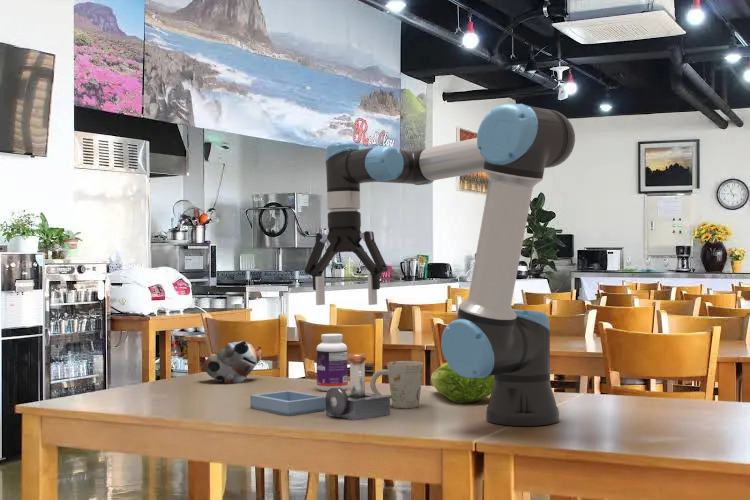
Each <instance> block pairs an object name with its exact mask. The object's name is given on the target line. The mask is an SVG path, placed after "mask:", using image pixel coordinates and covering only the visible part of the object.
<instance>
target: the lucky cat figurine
mask: <svg viewBox="0 0 750 500" xmlns="http://www.w3.org/2000/svg"><path fill="white" fill-rule="evenodd" d="M262 355H263V354H262V346H256V347H254V346H253V345H252V344H251V343H249V342H247V341H244V340H240V341H234V342H227V344H226V345H225V346H224V348H222V349H221V350H220V352H219V353H217V354H216V355H210V356H209V357H207V358H206V359H205V360H204V362H203V363H202V365H200V368H201V370H203V371H204V372H205V373H206V374H207V375H208V376H209V377H210V378H213V379H214V380H216V381H221V383H222V384H225V385H233V384H241V383H243V382H244V381H245V380H246V379H247V377H248V376H249V374H250V373H251V372H252V371H253V370H254V368H255V367H256V366H257V365H258V364H259V362H260V361H261V360H262Z"/></svg>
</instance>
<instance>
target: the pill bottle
mask: <svg viewBox="0 0 750 500" xmlns="http://www.w3.org/2000/svg"><path fill="white" fill-rule="evenodd" d="M320 339H321V341H322V342H320V343H319V344H318V345H317V346H316V348H315V349H316V352H315V353H316V388H317V390H319V391H322V392H328V390H329V389H331V388H336V387H341V388H342V389H344V390H345V391H346V389H348V386H349V385H348V381H349V380H348V378H349V377H348V346H347V344H345V343H344V342H343V334H342V333H324V334H323V333H322V334H321V336H320Z"/></svg>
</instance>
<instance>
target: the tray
mask: <svg viewBox="0 0 750 500" xmlns="http://www.w3.org/2000/svg"><path fill="white" fill-rule="evenodd" d="M249 397H250V398H249V399H250V404H249V405H250V407H249V408H250V409H253V410H257V411H262V412H267V413H272V414H276V415H283V416H286V417H287V416H288V417H290V416H291V417H292V416H296V415H303V414H304V415H305V414H310V413H317V412H325V411H324V410H326V395H325V396H324V395H320V394H319V395H318V394H314V393H313V394H312V393H307V392H302V391H301V392H300V391H295V390H294V391H293V390H282V391H275V392H267V393H258V394H250V396H249Z"/></svg>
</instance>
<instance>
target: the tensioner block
mask: <svg viewBox="0 0 750 500" xmlns="http://www.w3.org/2000/svg"><path fill="white" fill-rule="evenodd" d="M384 395H385V394H382V395H378V394H374V393H372V392H365V398H357V399H355V398H350V392H349V393H347V392H346V389H345V390H344V389H342V388H341V387H336V388H331V389H329V390H328V391H326V394H325V397H326V411H325V415H326V416H331V417H336V418H341V417H342V418H341V419H346V418H347V419H346V420H351V419H352V420H353V421H357V420H358V419H359V420H364V418H365V419H371V418H370V417H372V418H377V416H378V417H384V415H385V416H390V415H391V398H390V396H384ZM352 420H351V421H352Z"/></svg>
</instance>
